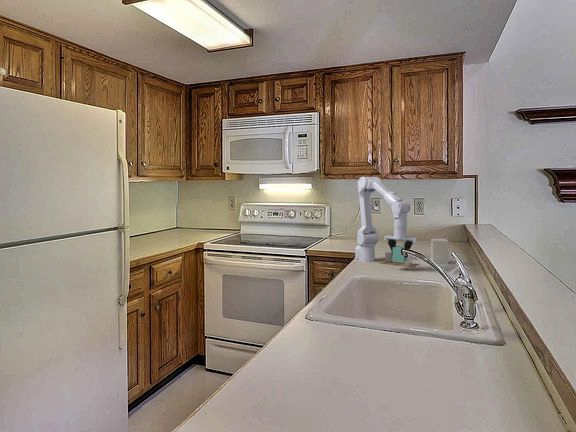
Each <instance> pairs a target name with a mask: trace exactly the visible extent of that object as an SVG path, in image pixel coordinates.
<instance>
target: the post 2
mask: <svg viewBox="0 0 576 432" xmlns="http://www.w3.org/2000/svg"><path fill="white" fill-rule="evenodd" d="M412 263H413V255H412V256H411V255H408V257H407V261H406V262H405V265H409V266H411V265H412Z"/></svg>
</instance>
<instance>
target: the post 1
mask: <svg viewBox="0 0 576 432" xmlns="http://www.w3.org/2000/svg"><path fill="white" fill-rule="evenodd" d="M384 255H385V258H384V260H385V263H392V260H393V256H392V252H391V251H390V252H389V251H387V252H385V254H384Z"/></svg>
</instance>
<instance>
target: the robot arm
mask: <svg viewBox="0 0 576 432" xmlns="http://www.w3.org/2000/svg"><path fill="white" fill-rule="evenodd" d="M357 188H358V189H357V191H358V199H359V200H358V201H359V210H360V222H361V227H360V228H359V229H358V230H357V235H356V241H357V245H356V246H355V251H354V252H355V253H354V254H355V255H354V256H355V257H354V258H355V261H356V262H364V263H374V262H375V261H376V260H375V259H376V257H375V256H376V255H375V254H376V251H375V250H376V247H375V246H377V244H378V243H379V235H378V233H377V228H375V227H374V225H373V219H372V207H371V206H372V205H371V195H372V194H374V192H375V191H376V192H378V193H379V194H380V195H382V197H383V200H384V201H385V202H386V204H387V205H388V206H389V207H390V208H391V211H392V216H393V235H384V239H383V240H384V241H387V244H388V246H389V248H390V252H391V253H392V257H393V247H395V246H397V242H403V246H405V249H409V251H410V249H411V248H412V245H413V244H414V243H415V244H416V243H418V240H417V237H412V236H408V214H409V212H410V211H411V205H410V203H409V201H407V200H402V198H401V197H399V196H398V195H397V194H396V193H397V192H395V191H391V190H389V189H388V188H387V187H386V186H385V185H384V184H383V183H382V179H381V178H380V177H378V176H361V177H360V178H359V179H358V181H357ZM407 257H408V255H407V256H405V258H407Z"/></svg>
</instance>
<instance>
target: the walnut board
mask: <svg viewBox="0 0 576 432" xmlns="http://www.w3.org/2000/svg"><path fill="white" fill-rule="evenodd" d="M377 264H380V265H388V266H396V267H397V266H398V267H403V268H404V267H406V268H413V269H414V268H415V267H417V266H419V265H420V263H413V262H412V265H411V266H409V265H405V262H404V263H401V262H393V261H392V263H385V259H384V260H382V261H380V262H378V263H377Z"/></svg>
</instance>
